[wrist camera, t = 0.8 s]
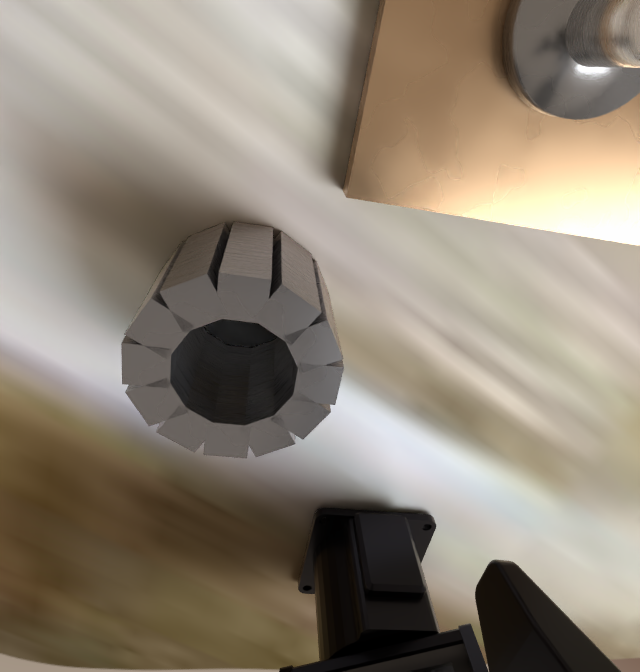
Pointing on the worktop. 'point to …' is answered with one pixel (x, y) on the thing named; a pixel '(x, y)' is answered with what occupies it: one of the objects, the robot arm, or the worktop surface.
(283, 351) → the hub
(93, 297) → the worktop surface
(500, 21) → the shaft stand
